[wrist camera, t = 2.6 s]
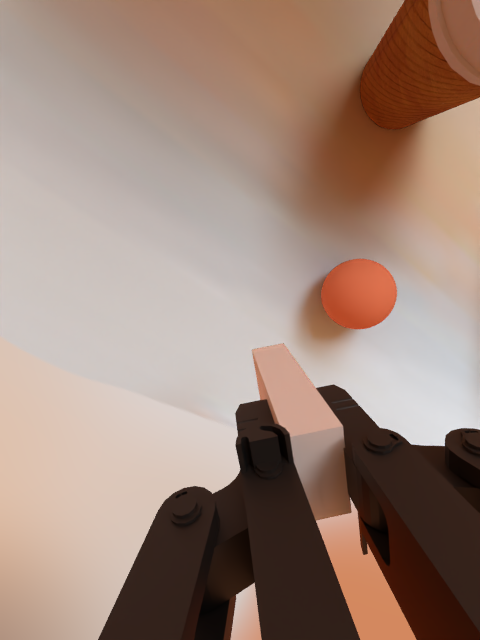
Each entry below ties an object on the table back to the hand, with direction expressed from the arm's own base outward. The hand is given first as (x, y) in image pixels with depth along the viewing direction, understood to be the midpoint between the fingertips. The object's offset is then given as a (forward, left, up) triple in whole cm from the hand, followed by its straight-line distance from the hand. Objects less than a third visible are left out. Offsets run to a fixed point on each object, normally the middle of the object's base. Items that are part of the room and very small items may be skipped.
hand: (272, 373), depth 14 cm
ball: (0, +10, -12) cm, 15 cm away
